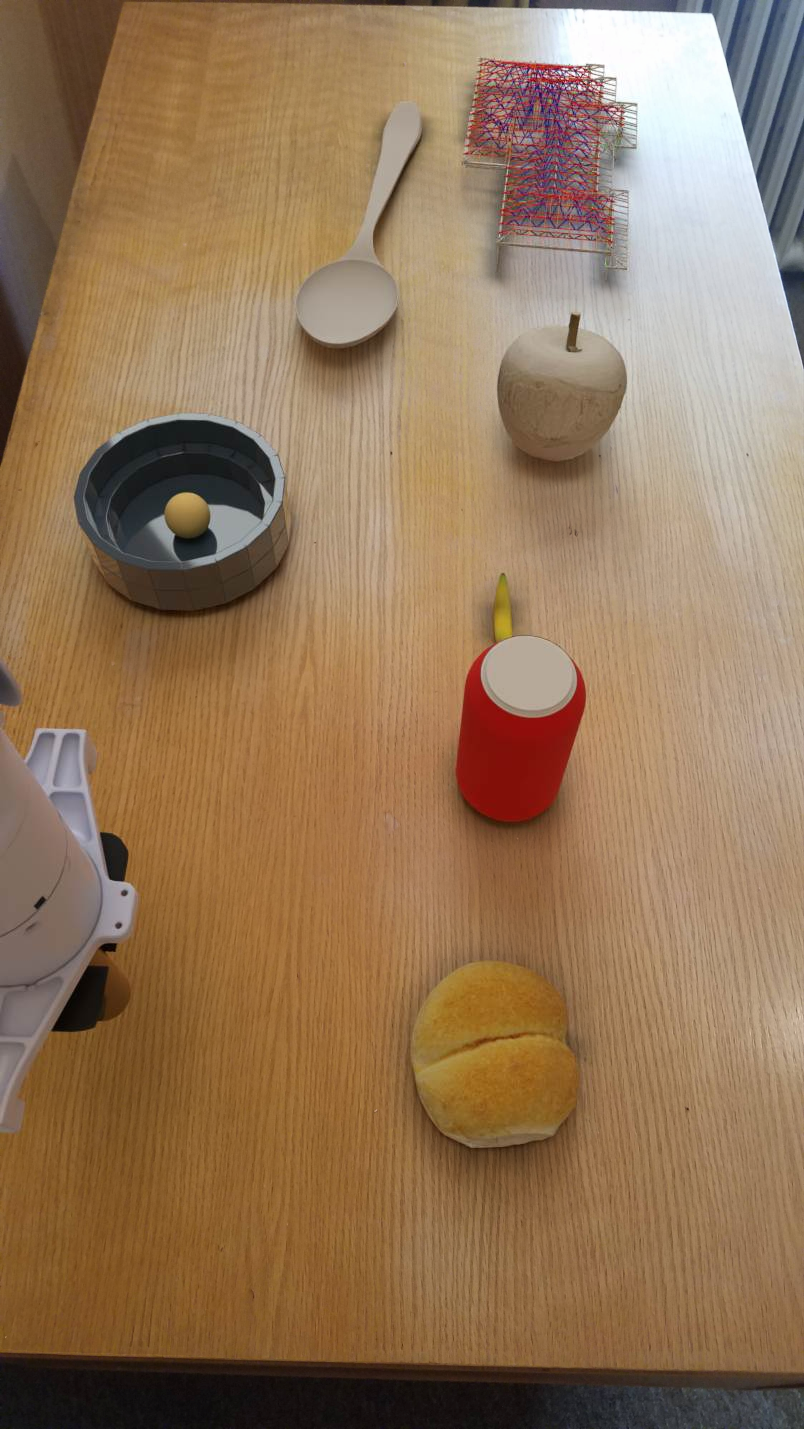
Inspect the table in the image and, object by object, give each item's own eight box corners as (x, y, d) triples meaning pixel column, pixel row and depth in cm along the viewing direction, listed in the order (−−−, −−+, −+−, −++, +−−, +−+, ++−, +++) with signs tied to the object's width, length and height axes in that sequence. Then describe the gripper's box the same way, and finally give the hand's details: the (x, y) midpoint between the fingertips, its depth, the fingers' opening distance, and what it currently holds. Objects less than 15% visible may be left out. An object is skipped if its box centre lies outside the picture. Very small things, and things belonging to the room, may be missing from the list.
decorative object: (513, 495, 72) (529, 385, 63) (476, 410, 76) (486, 295, 67) (630, 471, 73) (661, 359, 64) (587, 388, 77) (610, 273, 69)
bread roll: (551, 961, 55) (562, 937, 52) (586, 1137, 51) (600, 1125, 47) (400, 978, 54) (400, 956, 51) (421, 1158, 50) (423, 1147, 47)
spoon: (381, 376, 77) (382, 348, 75) (280, 362, 78) (278, 333, 76) (449, 134, 96) (451, 105, 94) (366, 124, 97) (366, 95, 94)
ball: (166, 547, 68) (157, 517, 66) (172, 512, 70) (163, 482, 67) (210, 548, 68) (203, 518, 66) (216, 514, 70) (209, 483, 67)
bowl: (77, 615, 66) (55, 567, 62) (112, 463, 73) (95, 410, 69) (282, 620, 66) (274, 572, 62) (298, 467, 73) (292, 415, 69)
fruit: (492, 586, 68) (496, 557, 65) (509, 586, 68) (514, 558, 65) (494, 675, 64) (498, 648, 62) (512, 675, 64) (517, 648, 62)
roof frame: (629, 294, 83) (643, 236, 78) (445, 278, 84) (448, 220, 79) (634, 92, 98) (645, 33, 93) (477, 80, 99) (481, 21, 94)
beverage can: (524, 721, 63) (549, 604, 52) (578, 802, 60) (616, 696, 49) (436, 761, 61) (444, 649, 51) (487, 846, 58) (507, 747, 48)
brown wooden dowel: (73, 1021, 46) (8, 963, 38) (83, 968, 47) (22, 902, 39) (126, 1023, 46) (72, 965, 38) (135, 970, 47) (84, 904, 39)
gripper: (55, 1104, 29) (154, 1163, 40) (138, 670, 36) (201, 826, 48) (-194, 1096, 29) (-23, 1156, 40) (-60, 664, 36) (51, 822, 48)
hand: (87, 978), depth 44 cm, fingers closed on brown wooden dowel, 2 cm apart
